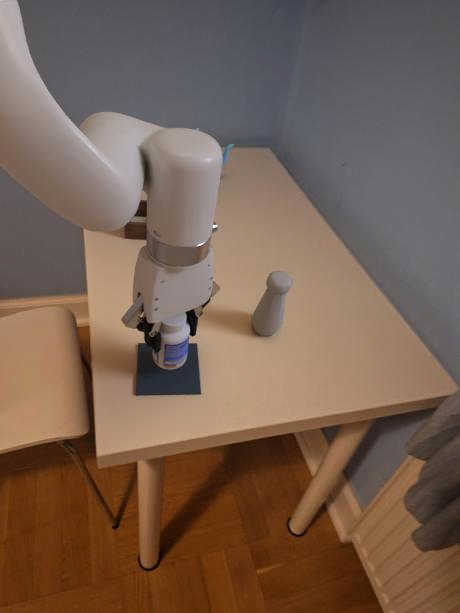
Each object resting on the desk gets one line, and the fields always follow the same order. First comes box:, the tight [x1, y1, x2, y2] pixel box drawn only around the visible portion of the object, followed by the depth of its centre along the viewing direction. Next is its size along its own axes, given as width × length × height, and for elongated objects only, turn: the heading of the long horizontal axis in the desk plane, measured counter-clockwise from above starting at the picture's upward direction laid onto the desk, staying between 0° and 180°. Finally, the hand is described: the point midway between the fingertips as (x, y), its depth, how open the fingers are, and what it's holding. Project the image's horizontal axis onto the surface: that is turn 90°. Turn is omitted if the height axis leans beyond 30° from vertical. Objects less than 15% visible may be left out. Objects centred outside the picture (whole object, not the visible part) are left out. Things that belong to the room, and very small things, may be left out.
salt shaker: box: [251, 270, 294, 337], centre depth 71 cm, size 6×6×13 cm
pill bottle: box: [152, 312, 190, 370], centre depth 61 cm, size 5×5×10 cm
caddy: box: [124, 199, 147, 241], centre depth 91 cm, size 10×10×4 cm
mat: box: [135, 342, 202, 397], centre depth 66 cm, size 10×10×1 cm
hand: (171, 336), depth 61 cm, fingers closed on pill bottle, 5 cm apart
